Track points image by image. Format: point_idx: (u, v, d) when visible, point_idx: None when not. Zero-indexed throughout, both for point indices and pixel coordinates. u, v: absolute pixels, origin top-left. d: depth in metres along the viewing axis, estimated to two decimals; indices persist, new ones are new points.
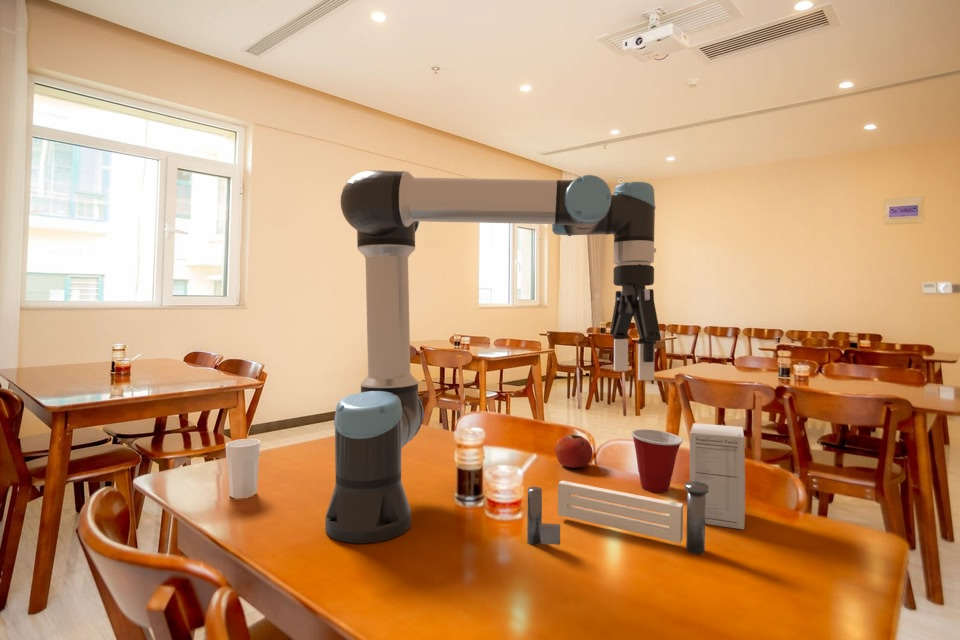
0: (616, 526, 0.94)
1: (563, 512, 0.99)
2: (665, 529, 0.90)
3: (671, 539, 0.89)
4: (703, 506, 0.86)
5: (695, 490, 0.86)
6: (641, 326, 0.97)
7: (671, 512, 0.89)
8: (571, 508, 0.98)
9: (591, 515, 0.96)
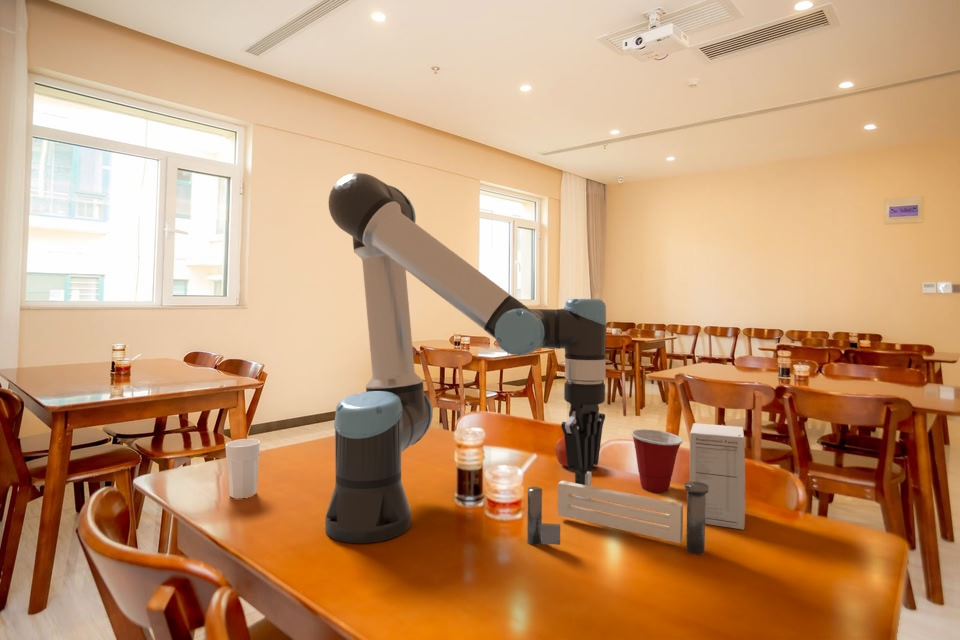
0: (616, 526, 0.94)
1: (563, 512, 0.99)
2: (665, 529, 0.90)
3: (671, 539, 0.89)
4: (703, 506, 0.86)
5: (695, 490, 0.86)
6: None
7: (671, 512, 0.89)
8: (570, 509, 0.98)
9: (590, 515, 0.96)
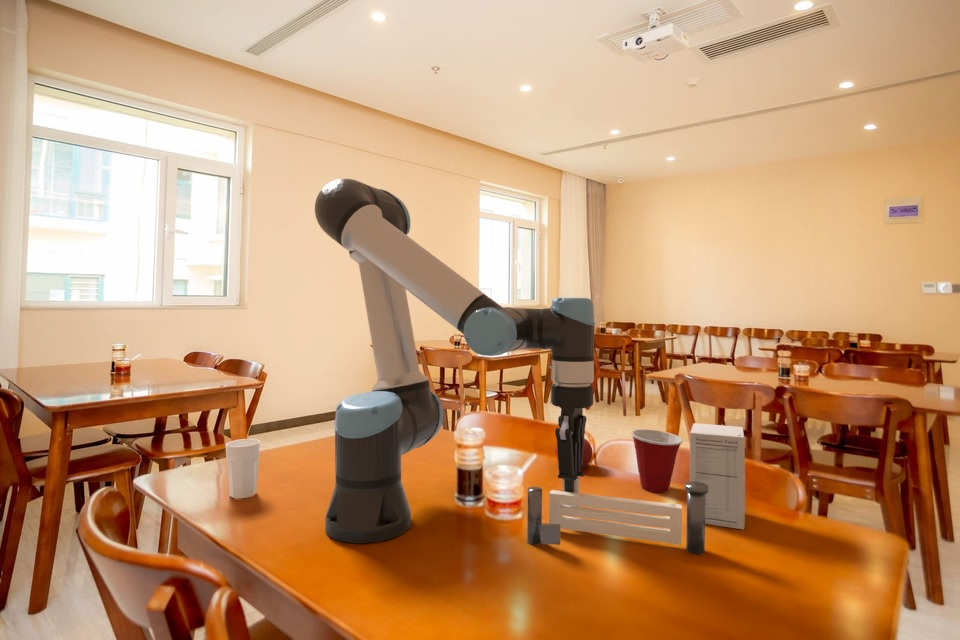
0: (613, 533, 0.91)
1: (555, 523, 0.94)
2: (665, 532, 0.89)
3: (672, 541, 0.88)
4: (703, 506, 0.86)
5: (695, 490, 0.86)
6: None
7: (672, 514, 0.88)
8: (563, 519, 0.94)
9: (586, 524, 0.92)
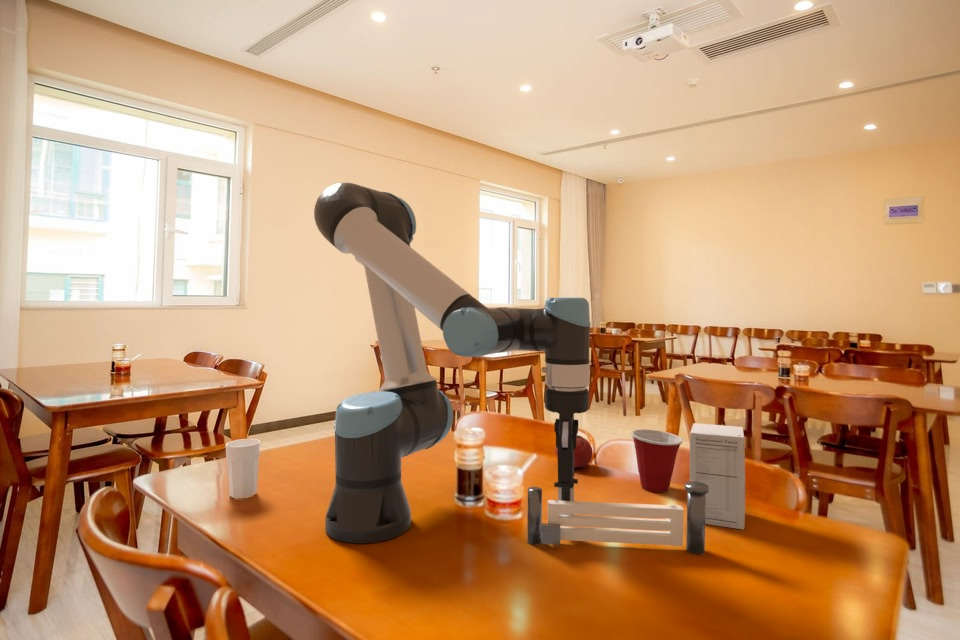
0: (615, 540, 0.88)
1: None
2: (666, 534, 0.88)
3: (674, 544, 0.87)
4: (703, 506, 0.86)
5: (695, 490, 0.86)
6: None
7: (674, 516, 0.87)
8: (563, 530, 0.89)
9: (586, 533, 0.89)
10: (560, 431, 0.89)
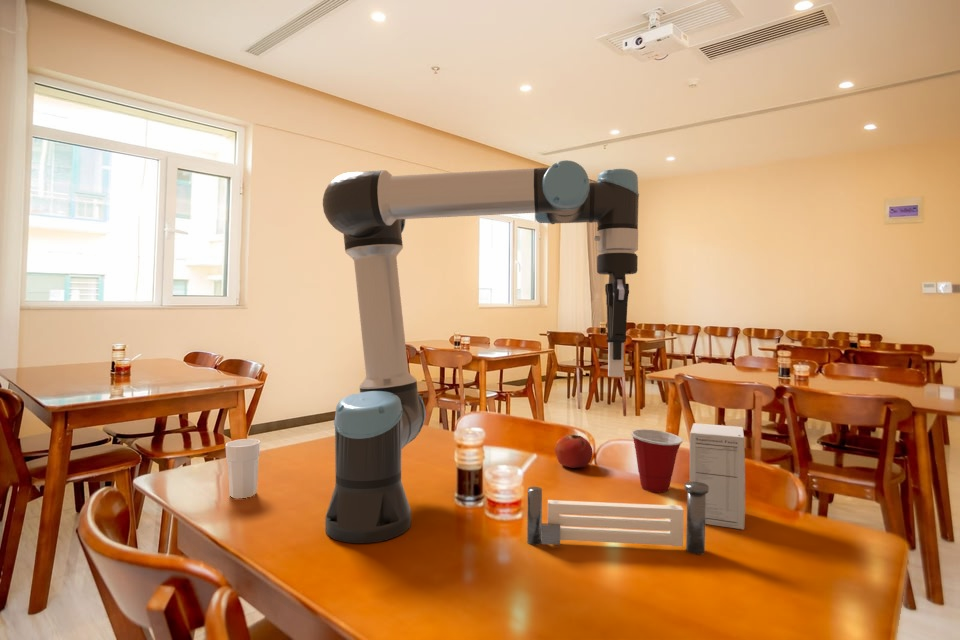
0: (615, 540, 0.88)
1: None
2: (666, 534, 0.88)
3: (674, 544, 0.87)
4: (703, 506, 0.86)
5: (695, 490, 0.86)
6: None
7: (674, 516, 0.87)
8: (563, 530, 0.89)
9: (586, 533, 0.89)
10: (615, 288, 0.99)
